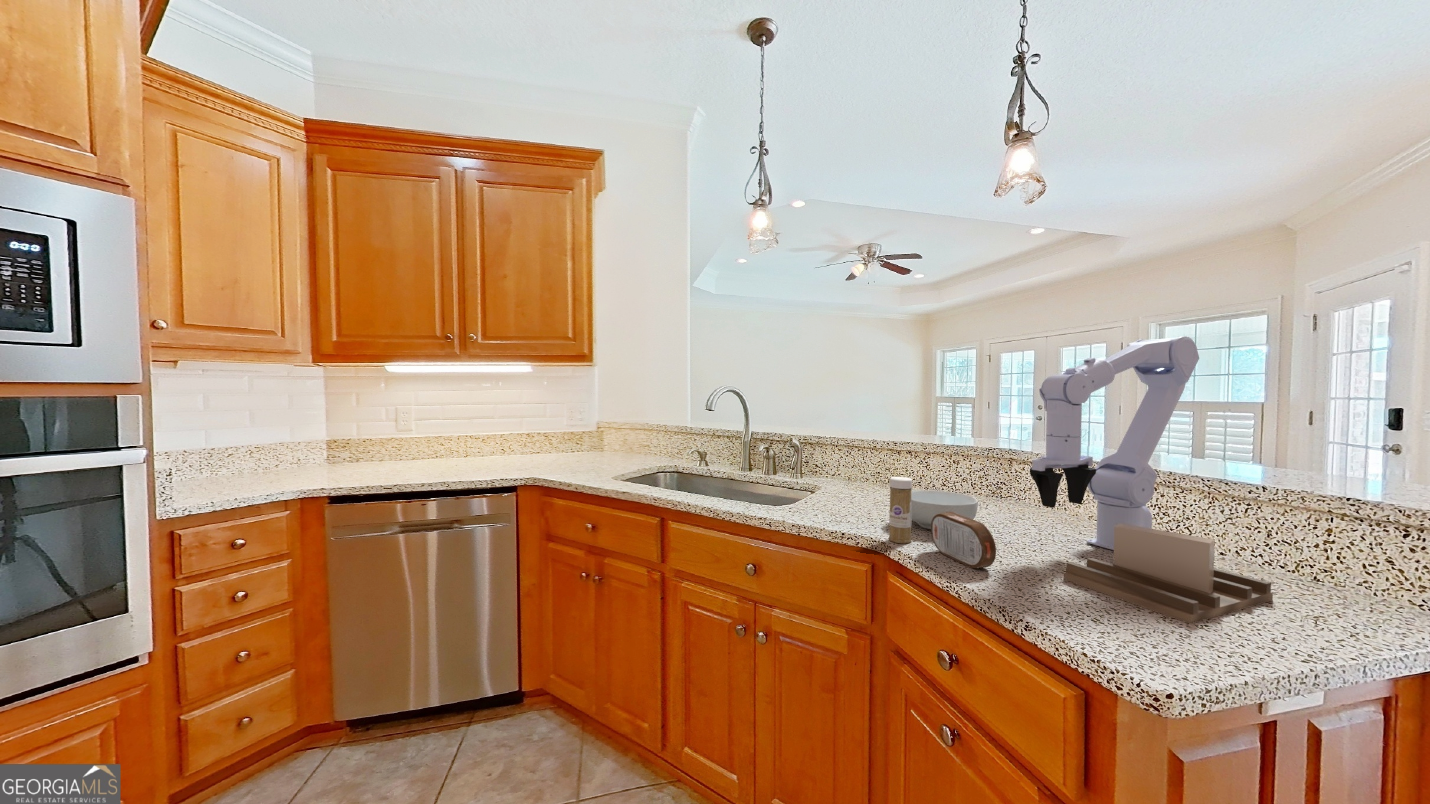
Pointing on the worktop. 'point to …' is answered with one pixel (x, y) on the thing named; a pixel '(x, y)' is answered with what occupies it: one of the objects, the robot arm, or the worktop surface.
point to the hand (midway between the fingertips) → (1062, 504)
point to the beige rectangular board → (1166, 555)
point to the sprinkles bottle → (900, 509)
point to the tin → (963, 539)
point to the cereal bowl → (940, 505)
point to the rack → (1171, 590)
